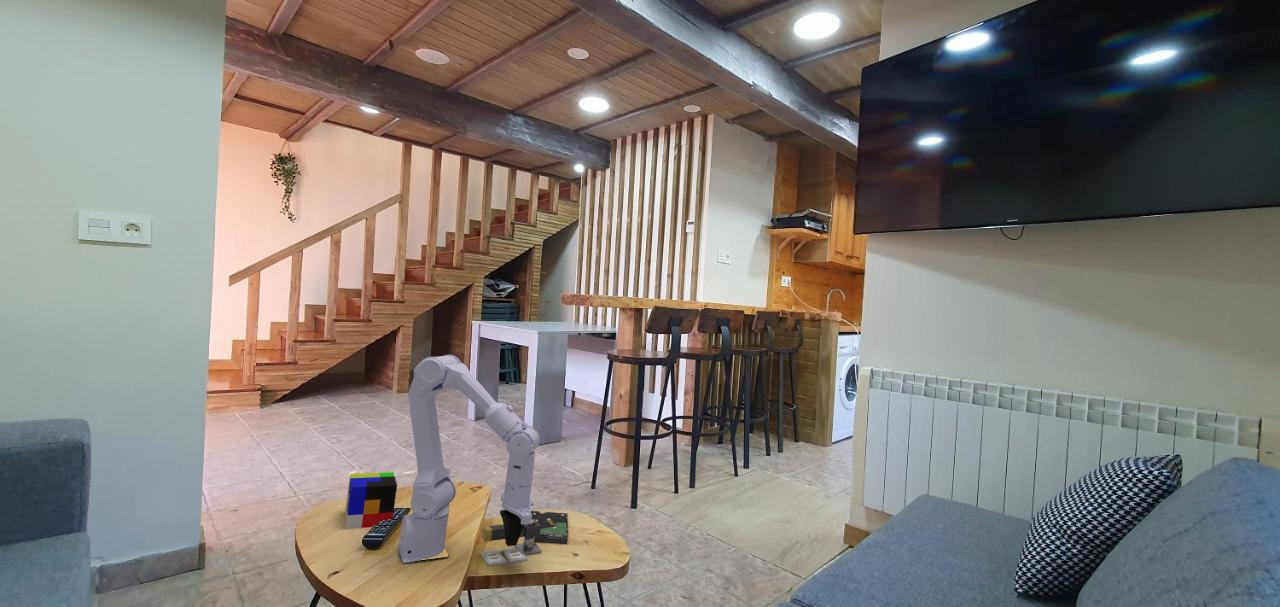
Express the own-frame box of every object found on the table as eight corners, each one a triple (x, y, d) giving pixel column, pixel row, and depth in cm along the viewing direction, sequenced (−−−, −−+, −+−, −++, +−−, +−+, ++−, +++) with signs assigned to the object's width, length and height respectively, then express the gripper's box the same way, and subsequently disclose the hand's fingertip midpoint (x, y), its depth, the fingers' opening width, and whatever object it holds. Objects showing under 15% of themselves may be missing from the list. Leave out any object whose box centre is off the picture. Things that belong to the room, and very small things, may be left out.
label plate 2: (510, 563, 118) (510, 560, 118) (501, 551, 123) (502, 548, 123) (527, 560, 120) (527, 558, 120) (518, 549, 125) (518, 546, 125)
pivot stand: (521, 555, 122) (525, 525, 122) (514, 546, 126) (518, 517, 126) (541, 553, 125) (545, 523, 125) (534, 543, 129) (537, 515, 129)
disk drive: (528, 520, 144) (525, 544, 129) (529, 510, 144) (526, 532, 129) (566, 522, 145) (567, 546, 131) (567, 512, 146) (569, 534, 131)
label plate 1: (488, 566, 115) (488, 563, 115) (480, 554, 120) (480, 551, 120) (505, 563, 117) (506, 561, 117) (497, 551, 122) (498, 549, 122)
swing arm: (534, 530, 128) (535, 519, 128) (539, 536, 125) (541, 525, 125) (480, 536, 121) (482, 525, 121) (485, 542, 118) (486, 531, 118)
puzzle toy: (345, 529, 124) (351, 487, 125) (344, 513, 133) (350, 473, 133) (391, 525, 129) (397, 485, 130) (388, 510, 138) (393, 472, 138)
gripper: (548, 492, 113) (540, 556, 112) (524, 471, 125) (517, 529, 125) (516, 495, 109) (508, 561, 108) (495, 473, 121) (488, 532, 121)
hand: (511, 544), depth 116 cm, fingers closed
